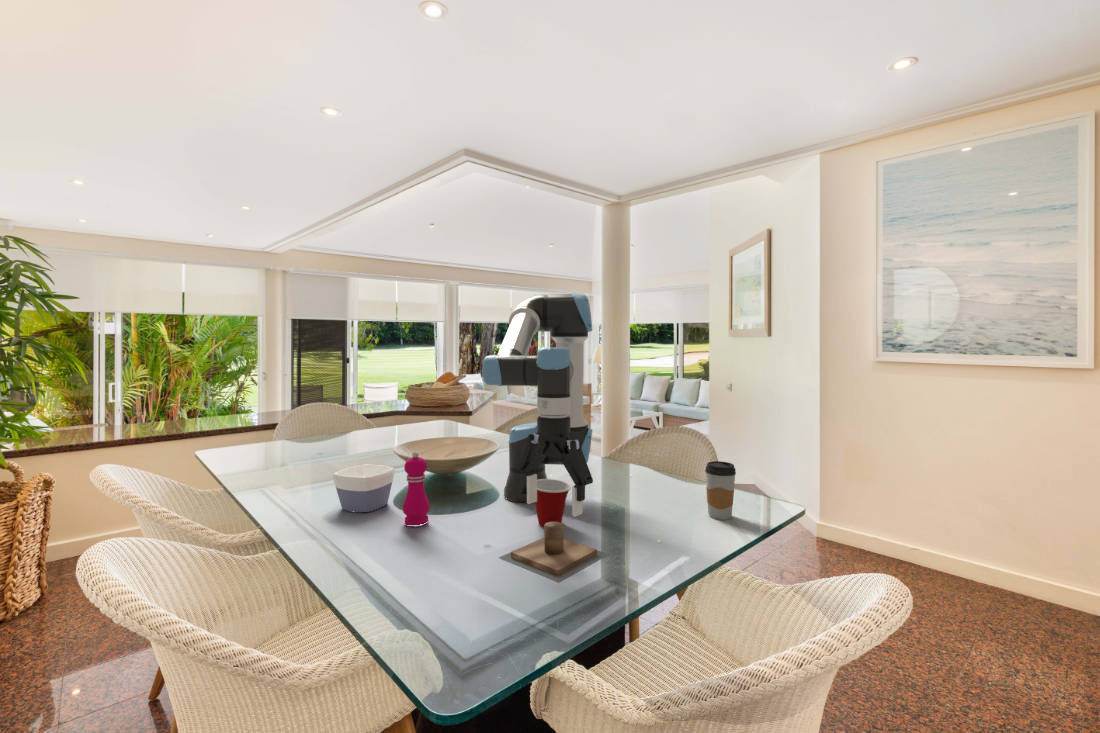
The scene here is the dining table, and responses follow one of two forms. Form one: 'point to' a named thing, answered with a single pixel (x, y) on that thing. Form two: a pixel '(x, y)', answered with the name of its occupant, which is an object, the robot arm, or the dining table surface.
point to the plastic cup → (551, 500)
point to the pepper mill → (416, 491)
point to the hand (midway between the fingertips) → (553, 508)
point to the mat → (551, 576)
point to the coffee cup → (720, 489)
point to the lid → (554, 551)
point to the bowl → (364, 487)
